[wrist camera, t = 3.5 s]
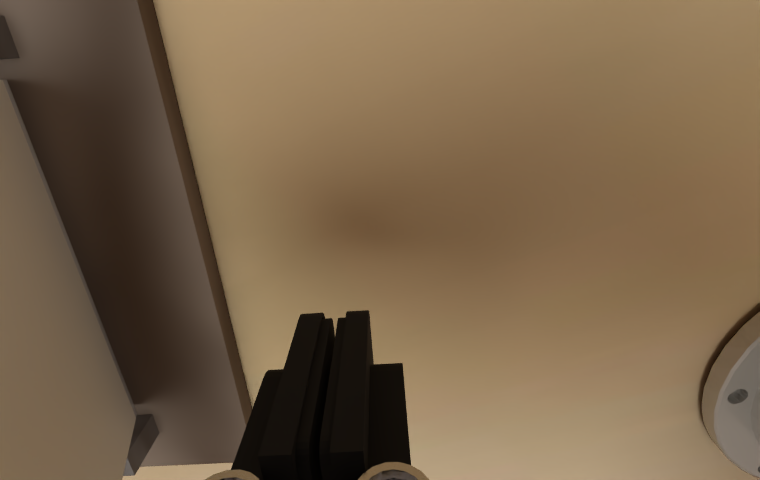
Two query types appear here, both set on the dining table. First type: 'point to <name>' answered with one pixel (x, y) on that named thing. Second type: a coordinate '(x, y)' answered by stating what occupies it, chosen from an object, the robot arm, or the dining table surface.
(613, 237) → the dining table surface
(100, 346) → the tile
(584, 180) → the dining table surface
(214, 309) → the board
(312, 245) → the dining table surface
